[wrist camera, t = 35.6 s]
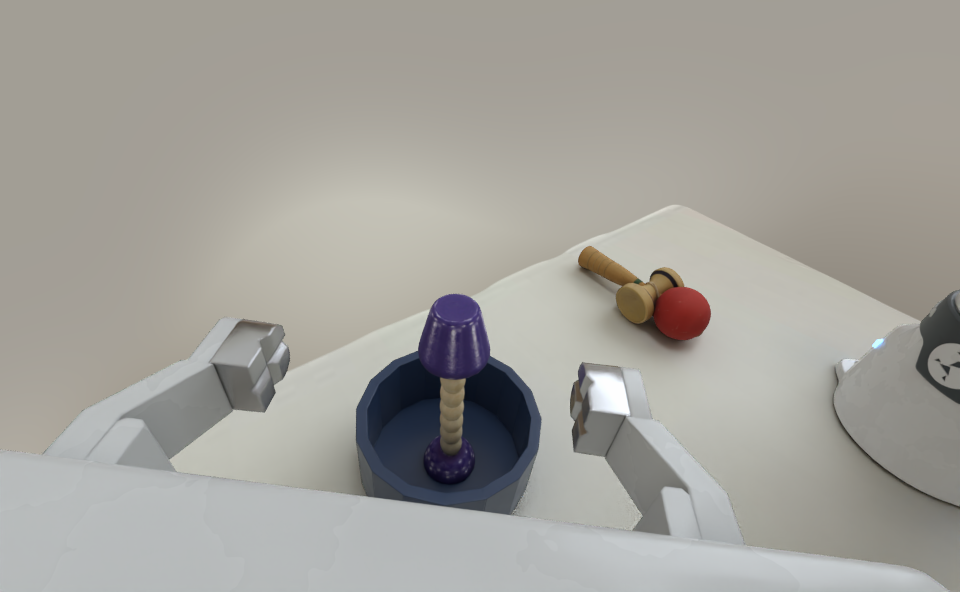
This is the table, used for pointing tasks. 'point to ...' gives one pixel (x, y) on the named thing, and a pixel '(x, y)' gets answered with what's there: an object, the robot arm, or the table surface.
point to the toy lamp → (452, 379)
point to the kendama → (653, 297)
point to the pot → (416, 422)
